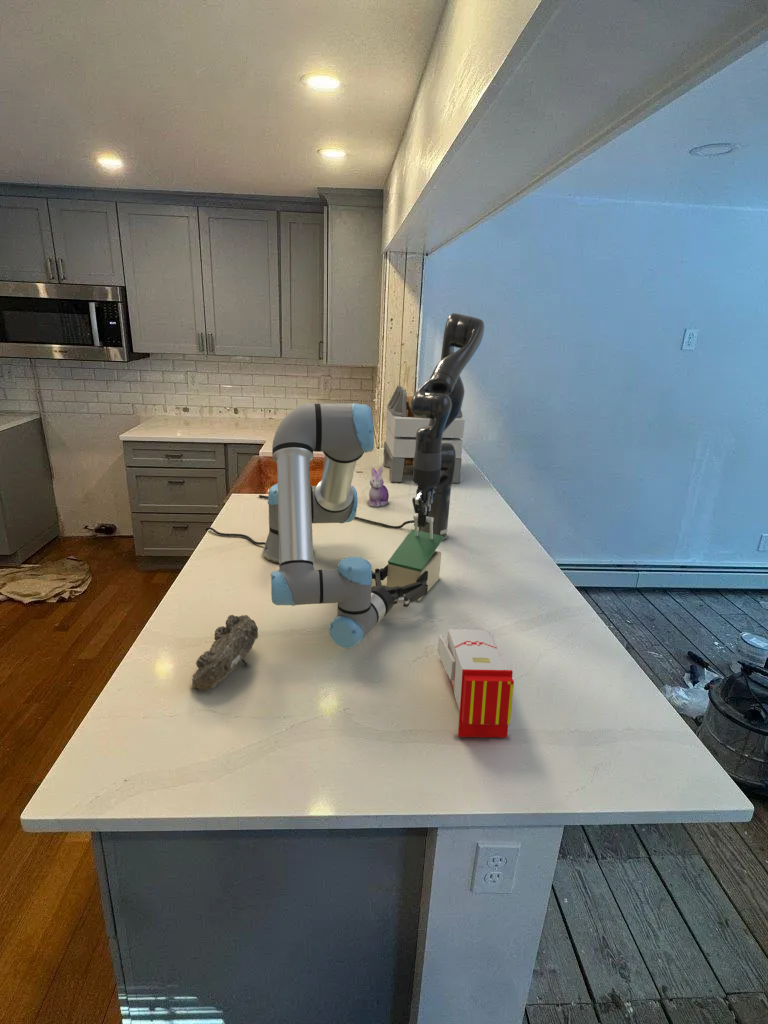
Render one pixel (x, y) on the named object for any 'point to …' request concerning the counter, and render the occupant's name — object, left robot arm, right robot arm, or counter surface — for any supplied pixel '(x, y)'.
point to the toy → (478, 682)
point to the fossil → (225, 651)
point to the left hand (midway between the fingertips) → (408, 571)
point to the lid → (416, 547)
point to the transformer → (413, 436)
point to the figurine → (377, 489)
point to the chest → (414, 573)
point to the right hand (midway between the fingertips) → (423, 524)
